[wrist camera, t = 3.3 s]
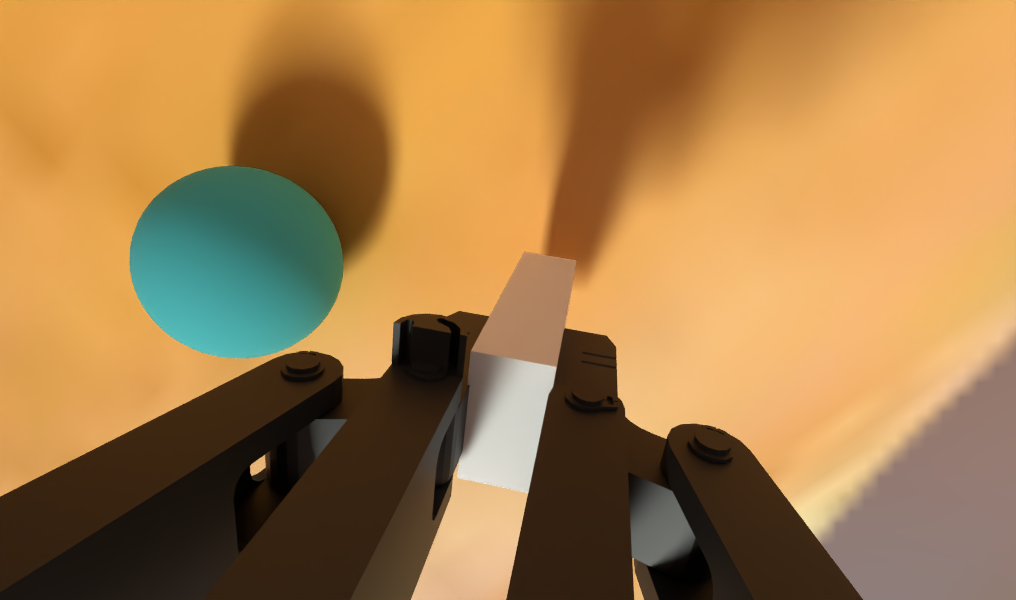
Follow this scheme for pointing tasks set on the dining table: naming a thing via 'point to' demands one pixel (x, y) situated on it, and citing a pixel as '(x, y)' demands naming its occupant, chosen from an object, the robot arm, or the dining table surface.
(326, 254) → the ball
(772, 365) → the dining table surface
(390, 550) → the robot arm
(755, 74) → the dining table surface
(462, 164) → the dining table surface
